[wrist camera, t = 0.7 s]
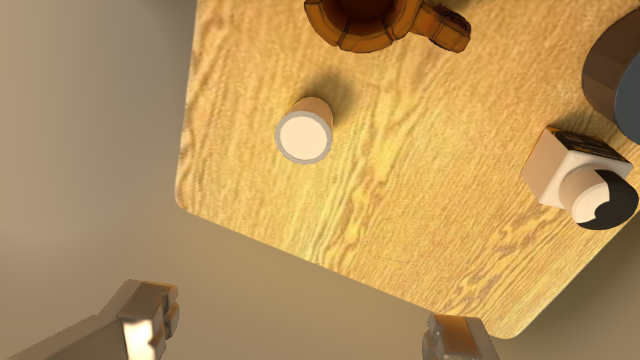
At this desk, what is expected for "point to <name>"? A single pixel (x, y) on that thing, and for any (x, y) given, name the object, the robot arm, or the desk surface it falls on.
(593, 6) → the desk surface
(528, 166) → the medicine bottle
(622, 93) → the pot lid
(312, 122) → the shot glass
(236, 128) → the desk surface
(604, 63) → the enamel pot
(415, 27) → the mug
